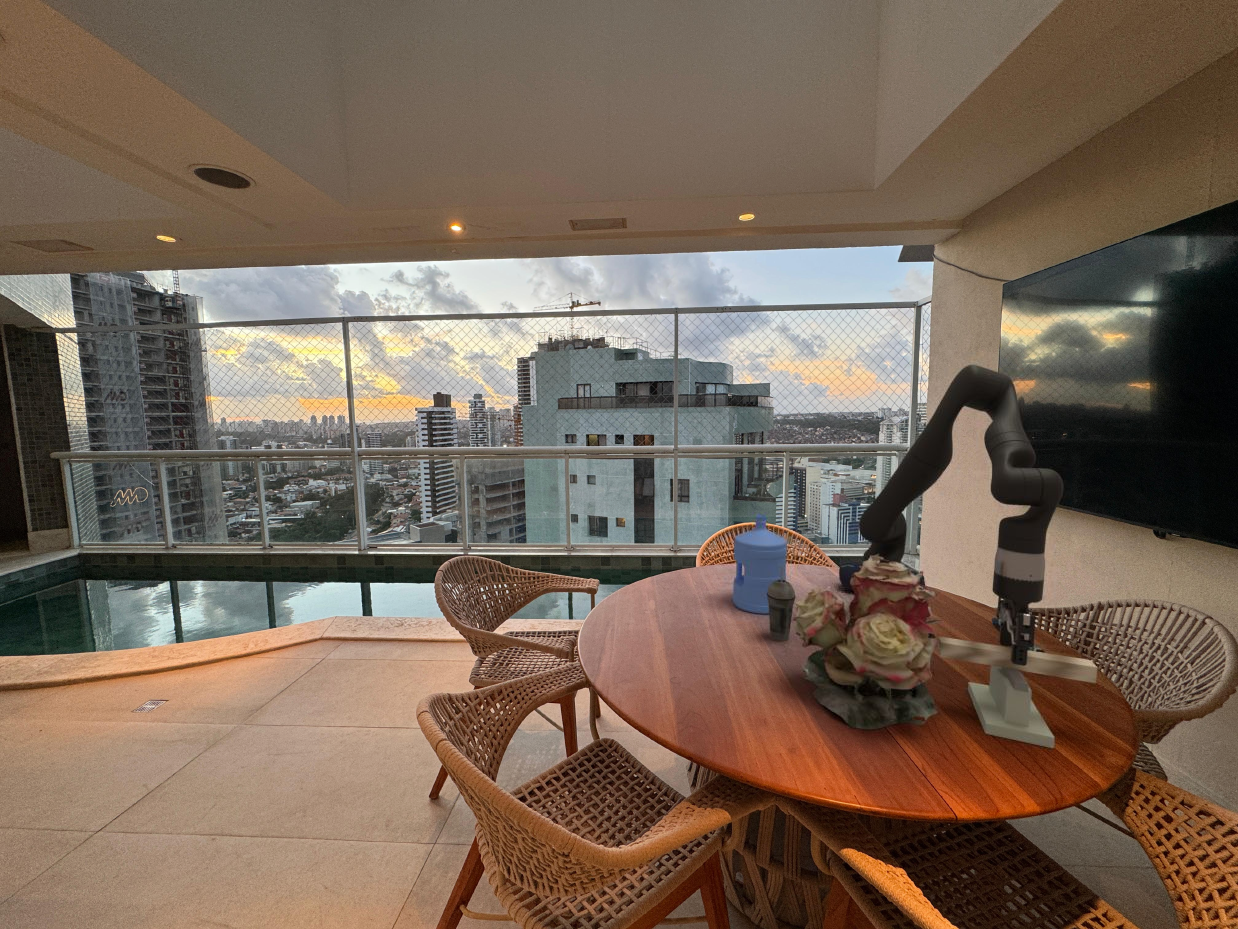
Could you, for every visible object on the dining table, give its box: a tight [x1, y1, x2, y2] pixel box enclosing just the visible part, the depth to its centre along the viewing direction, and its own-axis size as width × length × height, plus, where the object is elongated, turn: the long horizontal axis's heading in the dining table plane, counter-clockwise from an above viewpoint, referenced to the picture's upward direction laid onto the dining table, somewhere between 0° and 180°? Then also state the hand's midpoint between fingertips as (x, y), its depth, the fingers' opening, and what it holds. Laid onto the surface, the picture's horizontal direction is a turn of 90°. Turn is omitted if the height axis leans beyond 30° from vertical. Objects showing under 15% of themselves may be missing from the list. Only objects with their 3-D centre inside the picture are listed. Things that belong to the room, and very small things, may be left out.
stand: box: [967, 665, 1056, 749], centre depth 98 cm, size 16×10×10 cm, turn 155°
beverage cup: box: [767, 565, 796, 642], centre depth 133 cm, size 7×7×20 cm
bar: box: [937, 636, 1098, 684], centre depth 98 cm, size 24×3×3 cm, turn 65°
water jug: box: [732, 514, 788, 615], centre depth 155 cm, size 16×16×28 cm
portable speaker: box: [838, 560, 926, 592], centre depth 165 cm, size 25×10×10 cm, turn 54°
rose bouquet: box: [791, 554, 943, 731], centre depth 104 cm, size 26×29×30 cm
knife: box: [991, 617, 1046, 653], centre depth 129 cm, size 31×3×4 cm, turn 158°
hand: (1011, 654), depth 98 cm, fingers open, 8 cm apart
